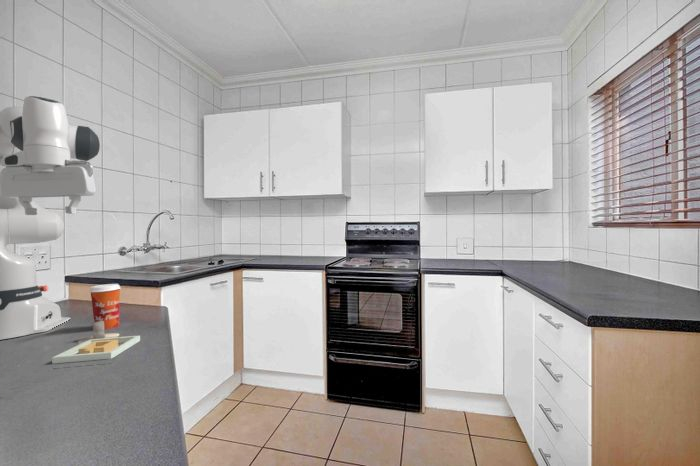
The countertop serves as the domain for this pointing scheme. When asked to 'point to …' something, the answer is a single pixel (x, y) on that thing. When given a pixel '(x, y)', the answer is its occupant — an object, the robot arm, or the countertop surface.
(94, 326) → the stand
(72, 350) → the tray
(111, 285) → the paper cup
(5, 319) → the robot arm
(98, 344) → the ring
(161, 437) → the countertop surface
